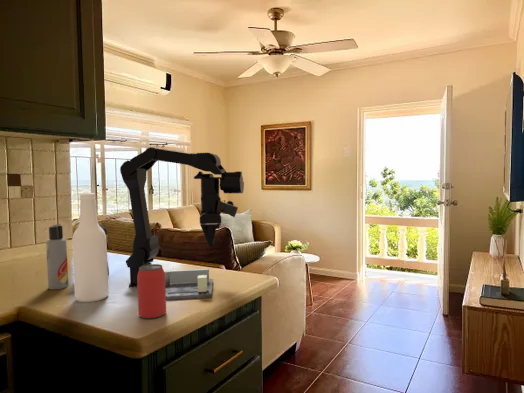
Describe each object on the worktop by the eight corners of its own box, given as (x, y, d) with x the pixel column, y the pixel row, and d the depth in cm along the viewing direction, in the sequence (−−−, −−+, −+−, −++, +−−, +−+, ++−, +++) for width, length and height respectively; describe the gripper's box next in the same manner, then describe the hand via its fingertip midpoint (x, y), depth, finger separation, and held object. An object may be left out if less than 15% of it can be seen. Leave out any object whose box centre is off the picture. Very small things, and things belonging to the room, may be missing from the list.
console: (156, 300, 104) (156, 296, 104) (165, 284, 120) (165, 281, 120) (211, 297, 105) (211, 293, 105) (212, 282, 121) (212, 278, 121)
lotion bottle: (72, 285, 122) (69, 223, 121) (57, 290, 116) (54, 226, 116) (59, 284, 124) (56, 223, 123) (44, 288, 118) (40, 225, 117)
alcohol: (67, 301, 105) (62, 194, 104) (92, 292, 113) (87, 192, 112) (92, 304, 102) (87, 193, 101) (115, 294, 110) (111, 192, 109)
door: (163, 284, 116) (163, 272, 115) (164, 282, 117) (163, 270, 117) (209, 281, 117) (208, 269, 117) (209, 280, 119) (208, 268, 119)
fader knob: (197, 292, 106) (197, 277, 106) (198, 289, 109) (198, 275, 109) (206, 291, 106) (206, 277, 106) (207, 288, 109) (206, 274, 109)
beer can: (142, 310, 96) (140, 264, 95) (168, 309, 96) (166, 263, 96) (135, 320, 89) (133, 270, 89) (163, 318, 90) (162, 269, 89)
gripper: (238, 194, 109) (238, 248, 110) (234, 192, 127) (234, 238, 128) (199, 195, 107) (200, 249, 108) (200, 192, 126) (201, 238, 127)
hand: (210, 243), depth 118 cm, fingers open, 9 cm apart
